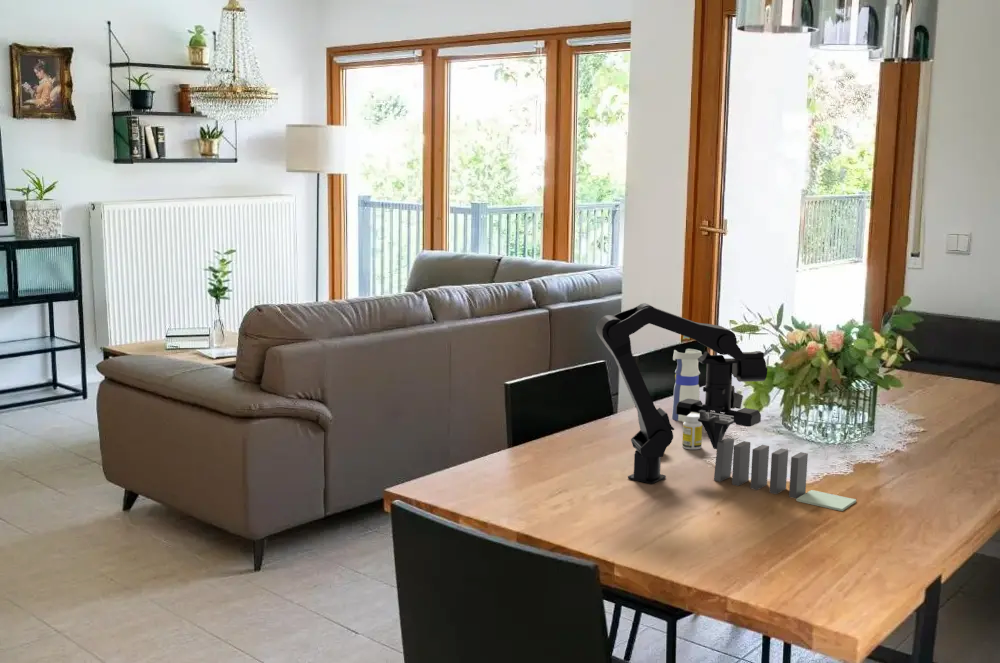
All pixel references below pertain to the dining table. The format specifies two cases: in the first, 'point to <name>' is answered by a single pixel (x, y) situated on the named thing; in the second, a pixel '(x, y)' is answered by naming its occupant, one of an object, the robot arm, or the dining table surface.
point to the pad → (826, 500)
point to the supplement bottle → (692, 432)
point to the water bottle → (686, 379)
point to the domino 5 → (798, 475)
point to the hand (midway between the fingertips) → (716, 448)
